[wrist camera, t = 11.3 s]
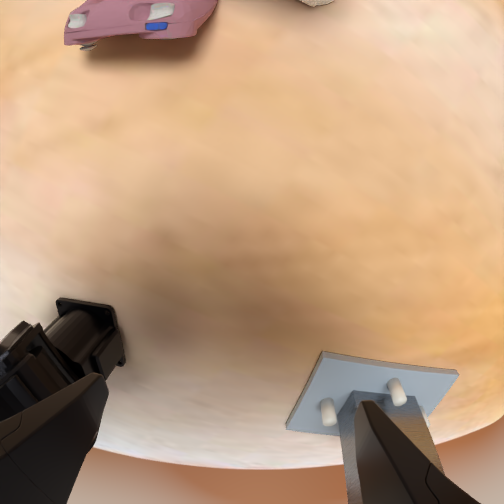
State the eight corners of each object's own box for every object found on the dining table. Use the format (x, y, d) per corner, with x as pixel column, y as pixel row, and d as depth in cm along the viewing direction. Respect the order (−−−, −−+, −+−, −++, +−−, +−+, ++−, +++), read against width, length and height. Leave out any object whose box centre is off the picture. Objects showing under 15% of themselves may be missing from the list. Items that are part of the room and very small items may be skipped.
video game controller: (102, 40, 18) (45, 62, 13) (104, -10, 14) (43, 0, 10) (219, 39, 18) (184, 54, 13) (226, -17, 14) (191, -25, 10)
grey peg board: (285, 423, 27) (285, 449, 24) (322, 351, 24) (326, 378, 20) (408, 433, 27) (414, 454, 24) (456, 370, 24) (469, 391, 20)
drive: (336, 416, 25) (348, 516, 15) (352, 390, 24) (374, 496, 14) (396, 420, 25) (420, 507, 15) (414, 395, 24) (448, 486, 14)
